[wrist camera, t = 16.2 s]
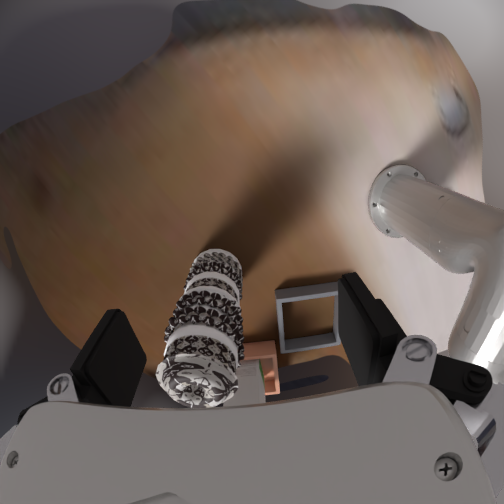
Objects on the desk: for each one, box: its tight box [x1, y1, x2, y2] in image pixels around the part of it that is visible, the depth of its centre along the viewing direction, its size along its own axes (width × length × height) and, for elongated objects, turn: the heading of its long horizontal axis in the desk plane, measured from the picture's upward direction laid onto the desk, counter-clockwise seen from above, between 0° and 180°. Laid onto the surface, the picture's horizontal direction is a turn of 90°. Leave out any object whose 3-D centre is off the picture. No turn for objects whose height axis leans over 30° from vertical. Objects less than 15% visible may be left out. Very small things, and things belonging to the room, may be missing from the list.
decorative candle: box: [156, 249, 245, 408], centre depth 34 cm, size 9×9×25 cm
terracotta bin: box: [237, 340, 280, 395], centre depth 53 cm, size 13×13×4 cm
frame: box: [275, 282, 341, 354], centre depth 48 cm, size 12×13×3 cm
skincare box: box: [223, 359, 265, 407], centre depth 47 cm, size 8×7×16 cm
